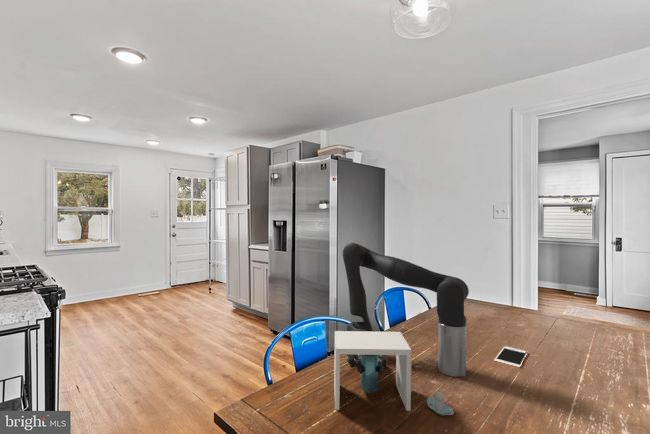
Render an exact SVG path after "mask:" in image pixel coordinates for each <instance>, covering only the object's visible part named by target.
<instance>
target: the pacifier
mask: <svg viewBox="0 0 650 434" xmlns="http://www.w3.org/2000/svg"><path fill="white" fill-rule="evenodd" d="M433 396H434V397H428V398H427V399H426V404H427V406H428V408H429V409H431V410H432V411H434V412H435V413H436V414H438V415H440V416H453V415H454V413H455V412H454V410H453V408H452V407H450V406H449V405H447V404H445V403H444V401H445V398H444V394H442V393H441V391H440V390H437V389H436V390H434V392H433Z"/></svg>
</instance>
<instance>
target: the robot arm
mask: <svg viewBox="0 0 650 434" xmlns="http://www.w3.org/2000/svg"><path fill="white" fill-rule="evenodd" d="M342 258H343V264H344V267H345V273H346V274H345V275H346V279H347V285H348V295H349V312H350V315H351V316H353V317H359V318H361V319H362V321H352V322H351V321H350V322H349V323H348V324H347V327H346V331H372V332H374V329H373V326H372V323H371V320H370V317H369V314H368V312H369V311H368V306H367V295H366V290H365V286H364V284H363V281H362V275H361V268H367V269H369V270H373V271H375V272H377V273H378V274H380V275H382V276H383V277H385V278H387V279H389V280H391V281H393V282H395V283H398V284H400V285H404V286H406V287H407V286H408V287H413V288H418V289H420V288H421V289H424V290H429V291H432V292H433V293H436V314H437V316H438V317H437V318H438V334H437V335H438V339H437V340H438V343H437V344H438V345H437V347H438V348H437V349H438V350H437V353H438V354H437V369H438V371H439V372H440V373H442V374H443V375H447V376H450V377H466V373H467V370H466V369H467V367H466V366H467V363H466V361H467V349H466V348H467V344H466V341H467V317H466V316H465V300H466V299H467V298H468V296H469V292H470V291H469V290H470V289H469V287H468V285H467V283H466V282H465V281H464V280H462V279H461V278H458V277H455V276H452V275H447V274H443V273H438V272H436V271H432V270H430V269H427V268H425V267H423V266H420V265H417V264H415V263H412V262H410V261H407V260H405V259H402V258H398V257H395V256H390V255H384V254H381V253H377V252H376V251H374V250H371V249H370V248H367V247H366V246H364V245H361V244H358V243H356V242H349V243H347V244H345V246H344V247H343V249H342ZM345 360H346V362H347V363H348V365H349V367H350V368H356V371H357V373H359V374H360V375H361V374H362V364H361V355H357V354H346V359H345ZM387 367H388V355H378V375H382V373H384V369H387Z"/></svg>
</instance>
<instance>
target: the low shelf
mask: <svg viewBox="0 0 650 434" xmlns="http://www.w3.org/2000/svg"><path fill="white" fill-rule="evenodd" d="M347 354H357V355H387V356H396V357H395V359H396V362H395V364H396V365H395V370H396V371H395V387H396V388H397V391H398V393H399V396H400V398H401V401H402V404H403V405H404V408H405V411H406V412H411V409H412V407H411V406H412V405H411V404H412V401H411V399H412V398H411V397H412V348H411V347H410V345H409V344H408V342H407V340H406V339H405V337H404V335H403V334H402V332H401V331H373V332H372V331H347V330H345V331H344V330H334V355H333V356H334V357H333V359H334V364H333V365H334V367H333V368H334V369H333V372H334V374H333V375H334V376H333V377H334V378H333V385H334V386H333V389H334V410H335V411H339V410H340V390H341V388H340V386H341V385H340V384H341V383H340V379H341V378H340V376H341V375H340V374H341V373H340V372H341V371H340V368H341V355H347Z"/></svg>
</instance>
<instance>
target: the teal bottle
mask: <svg viewBox="0 0 650 434" xmlns="http://www.w3.org/2000/svg"><path fill="white" fill-rule="evenodd" d="M361 364H362V374H360V389H361V391H364V392H366V393H375V392H377V391H378V390H379V385H378V384H379V373H378V355H361Z"/></svg>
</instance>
